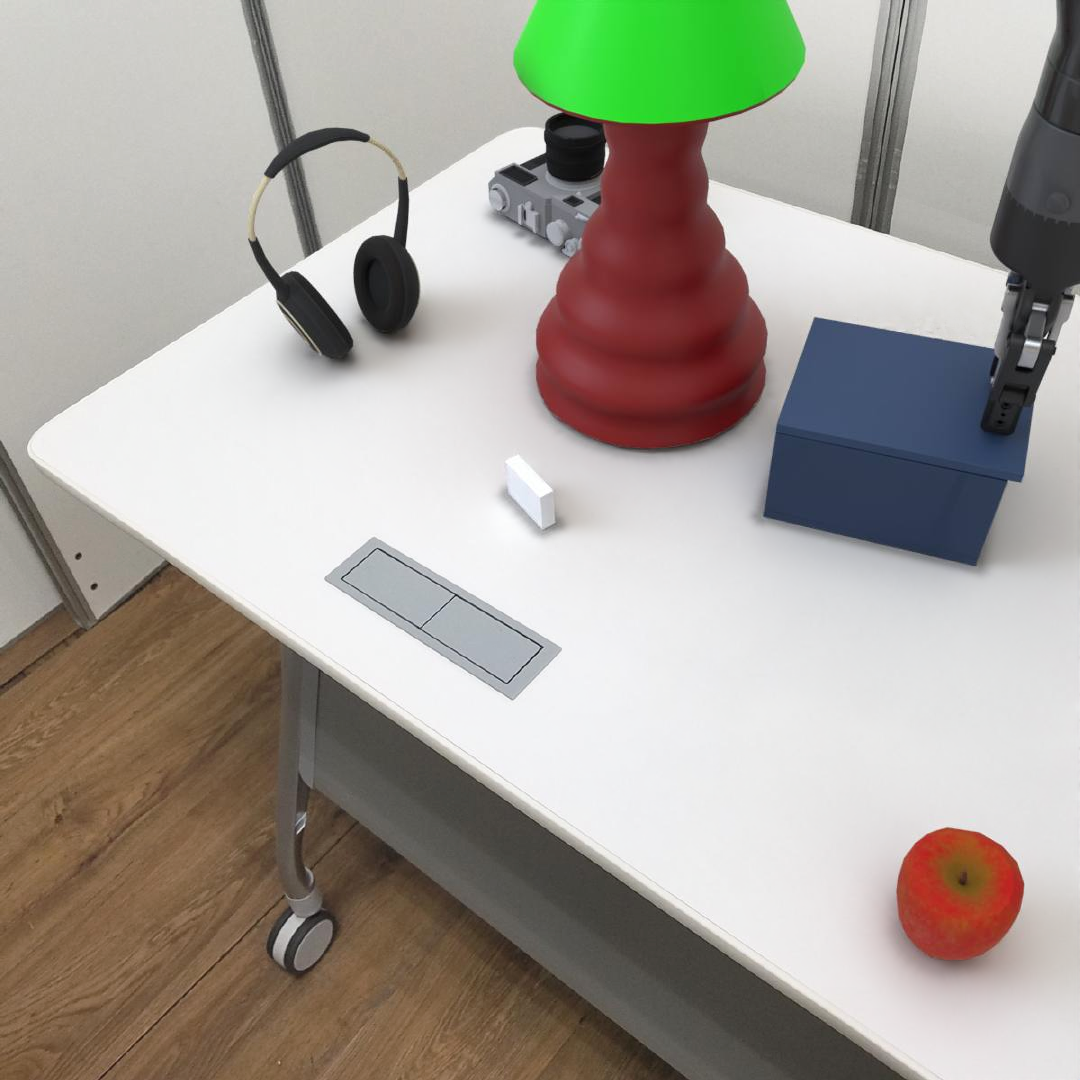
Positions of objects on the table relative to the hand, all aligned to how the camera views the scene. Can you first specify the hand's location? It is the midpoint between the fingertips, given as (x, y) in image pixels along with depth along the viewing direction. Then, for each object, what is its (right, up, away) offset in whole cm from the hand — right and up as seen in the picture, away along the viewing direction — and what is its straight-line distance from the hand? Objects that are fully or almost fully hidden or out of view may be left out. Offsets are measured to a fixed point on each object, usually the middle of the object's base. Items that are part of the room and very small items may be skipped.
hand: (1000, 402), depth 76 cm
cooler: (-5, -5, +9) cm, 12 cm away
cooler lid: (-6, +1, +3) cm, 6 cm away
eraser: (-33, -7, +10) cm, 35 cm away
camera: (-28, +22, +35) cm, 50 cm away
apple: (-9, -32, -13) cm, 36 cm away
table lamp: (-22, +5, +19) cm, 30 cm away
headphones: (-49, +9, +25) cm, 55 cm away
